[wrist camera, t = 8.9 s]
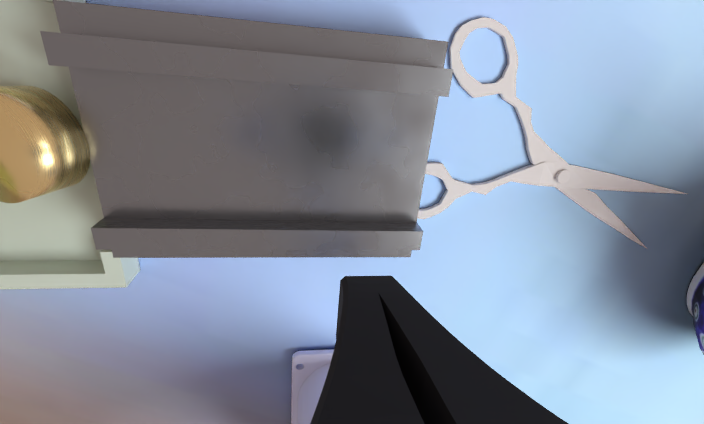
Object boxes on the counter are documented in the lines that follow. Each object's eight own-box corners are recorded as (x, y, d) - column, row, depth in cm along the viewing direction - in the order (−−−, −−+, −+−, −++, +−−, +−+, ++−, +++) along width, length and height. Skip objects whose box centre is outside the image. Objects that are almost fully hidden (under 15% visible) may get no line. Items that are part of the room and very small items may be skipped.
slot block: (400, 238, 19) (416, 267, 16) (133, 236, 17) (101, 270, 14) (430, 44, 15) (459, 40, 12) (87, 8, 13) (30, -6, 10)
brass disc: (98, 193, 14) (49, 212, 12) (18, 178, 14) (-40, 193, 13) (77, 92, 12) (16, 95, 10) (-13, 79, 13) (-85, 80, 11)
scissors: (439, -10, 14) (736, 146, 19) (433, -6, 15) (721, 143, 20) (351, 208, 18) (621, 291, 23) (349, 203, 18) (612, 285, 24)
